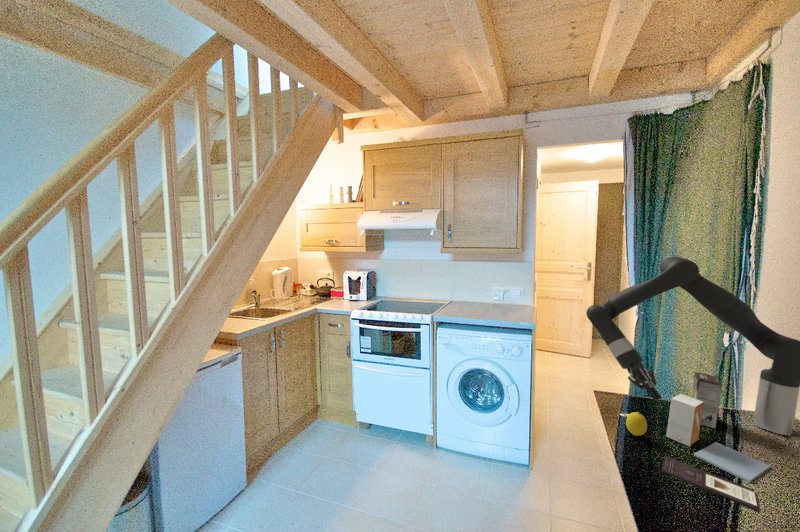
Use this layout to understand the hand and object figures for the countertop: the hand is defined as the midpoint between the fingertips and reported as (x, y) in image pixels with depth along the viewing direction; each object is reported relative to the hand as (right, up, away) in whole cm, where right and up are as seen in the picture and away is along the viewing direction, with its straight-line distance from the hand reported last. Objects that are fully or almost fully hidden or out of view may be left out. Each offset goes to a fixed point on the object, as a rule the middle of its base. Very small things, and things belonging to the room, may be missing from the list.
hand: (658, 399), depth 114 cm
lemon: (-13, -9, -6) cm, 17 cm away
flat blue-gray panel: (+8, -11, -17) cm, 22 cm away
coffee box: (+21, -10, +7) cm, 24 cm away
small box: (+3, -10, -6) cm, 12 cm away
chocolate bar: (-8, -12, -26) cm, 30 cm away
